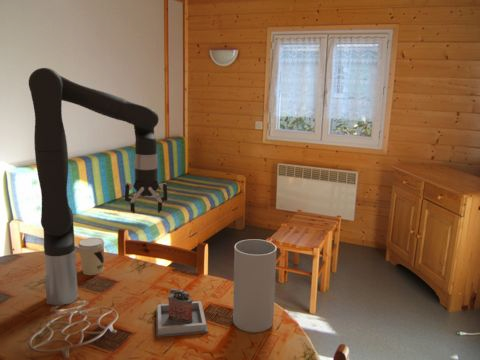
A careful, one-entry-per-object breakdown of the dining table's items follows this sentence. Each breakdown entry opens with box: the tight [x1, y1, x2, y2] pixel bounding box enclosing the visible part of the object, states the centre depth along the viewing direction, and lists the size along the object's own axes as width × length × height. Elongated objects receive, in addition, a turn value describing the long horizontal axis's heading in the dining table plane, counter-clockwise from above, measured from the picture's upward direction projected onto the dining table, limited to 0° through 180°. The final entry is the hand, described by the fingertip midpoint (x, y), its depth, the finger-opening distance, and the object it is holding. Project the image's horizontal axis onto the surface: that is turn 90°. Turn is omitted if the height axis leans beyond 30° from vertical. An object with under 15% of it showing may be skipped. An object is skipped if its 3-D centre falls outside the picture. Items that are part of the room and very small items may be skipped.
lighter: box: [167, 288, 194, 324], centre depth 134 cm, size 8×3×10 cm, turn 71°
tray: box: [155, 300, 209, 338], centre depth 135 cm, size 15×15×2 cm
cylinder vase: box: [232, 238, 277, 333], centre depth 133 cm, size 12×12×25 cm
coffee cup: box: [78, 237, 105, 276], centre depth 167 cm, size 9×9×12 cm
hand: (146, 212), depth 152 cm, fingers open, 8 cm apart
